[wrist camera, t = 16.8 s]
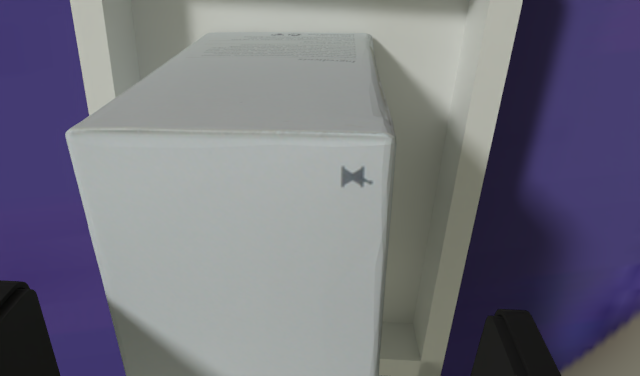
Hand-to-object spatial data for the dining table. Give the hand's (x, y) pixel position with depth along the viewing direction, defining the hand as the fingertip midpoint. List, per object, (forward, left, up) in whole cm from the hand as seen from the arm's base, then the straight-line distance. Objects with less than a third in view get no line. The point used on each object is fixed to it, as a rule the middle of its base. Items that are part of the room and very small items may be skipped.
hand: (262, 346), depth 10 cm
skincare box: (0, +1, -11) cm, 11 cm away
